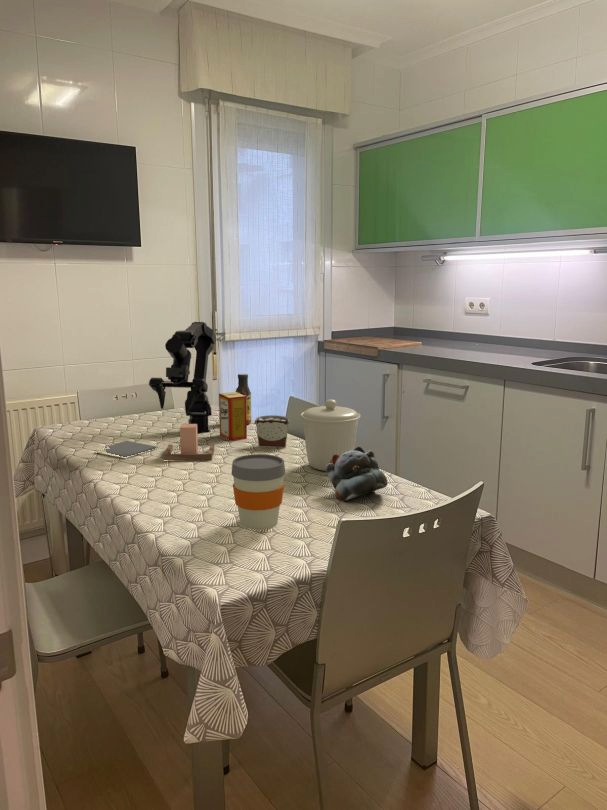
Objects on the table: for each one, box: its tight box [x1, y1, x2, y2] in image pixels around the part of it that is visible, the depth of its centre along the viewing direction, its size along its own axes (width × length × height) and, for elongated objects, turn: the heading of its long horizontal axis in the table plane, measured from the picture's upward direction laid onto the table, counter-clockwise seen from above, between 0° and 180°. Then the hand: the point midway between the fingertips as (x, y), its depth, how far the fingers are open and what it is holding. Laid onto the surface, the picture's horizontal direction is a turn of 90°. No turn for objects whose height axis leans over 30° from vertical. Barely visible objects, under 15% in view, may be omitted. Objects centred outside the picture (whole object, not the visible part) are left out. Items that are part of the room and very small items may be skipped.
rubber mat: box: [104, 440, 157, 457], centre depth 206 cm, size 14×14×1 cm
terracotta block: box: [179, 423, 199, 454], centre depth 201 cm, size 5×5×10 cm
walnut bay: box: [162, 443, 215, 462], centre depth 201 cm, size 13×15×2 cm
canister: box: [300, 399, 361, 472], centre depth 188 cm, size 18×18×21 cm
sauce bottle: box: [235, 373, 252, 425], centre depth 245 cm, size 7×6×20 cm
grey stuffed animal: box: [325, 446, 388, 503], centre depth 165 cm, size 15×12×14 cm
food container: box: [254, 414, 291, 449], centre depth 214 cm, size 12×6×10 cm, turn 84°
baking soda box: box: [218, 391, 248, 442], centre depth 224 cm, size 10×6×16 cm
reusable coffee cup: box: [231, 453, 286, 530], centre depth 145 cm, size 13×13×15 cm
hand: (175, 408), depth 204 cm, fingers open, 9 cm apart
